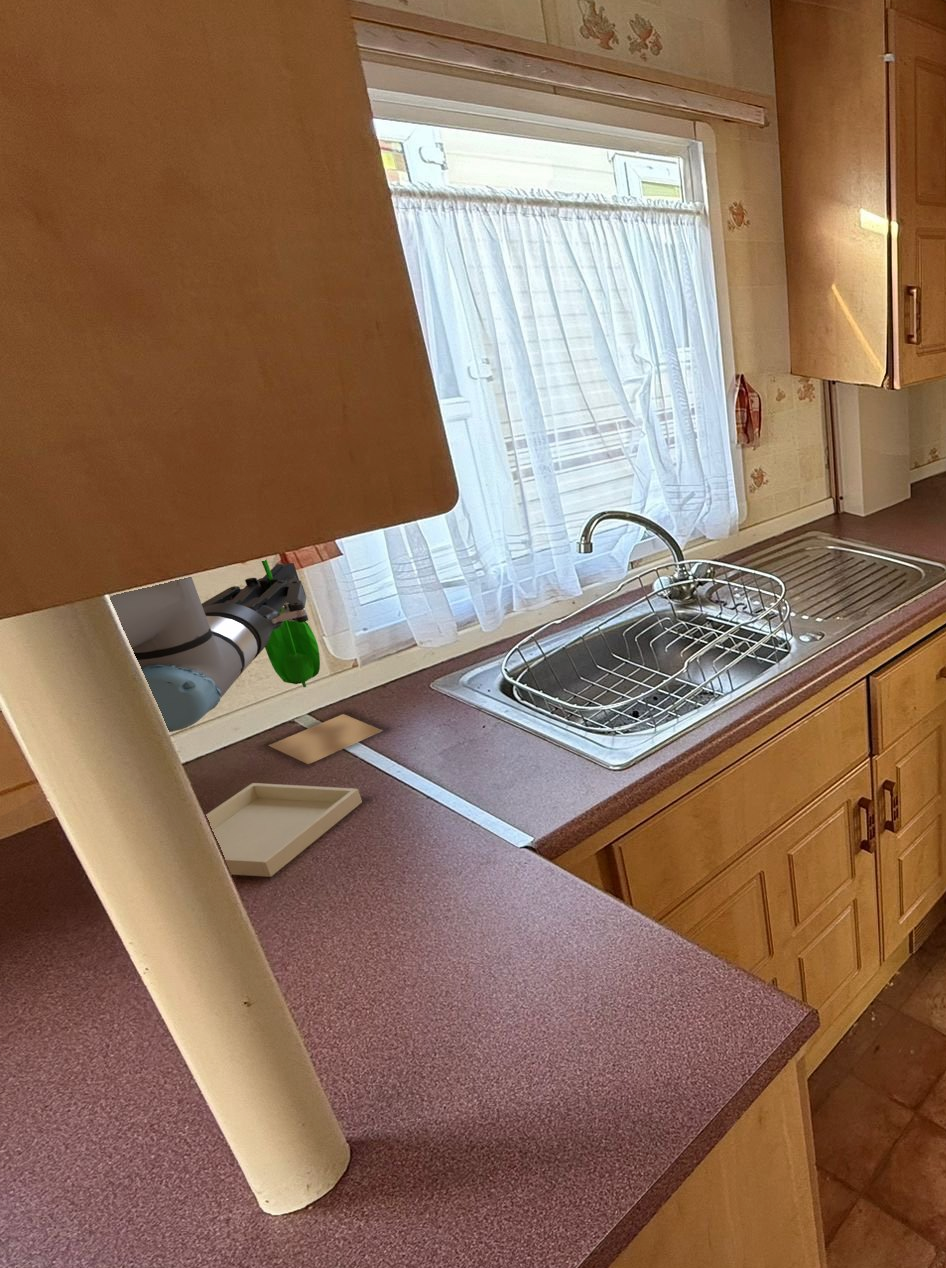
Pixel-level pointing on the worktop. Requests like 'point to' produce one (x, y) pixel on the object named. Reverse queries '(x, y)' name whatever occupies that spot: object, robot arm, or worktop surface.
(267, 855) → the baking tray
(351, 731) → the cork mat
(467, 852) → the worktop surface
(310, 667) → the flower
